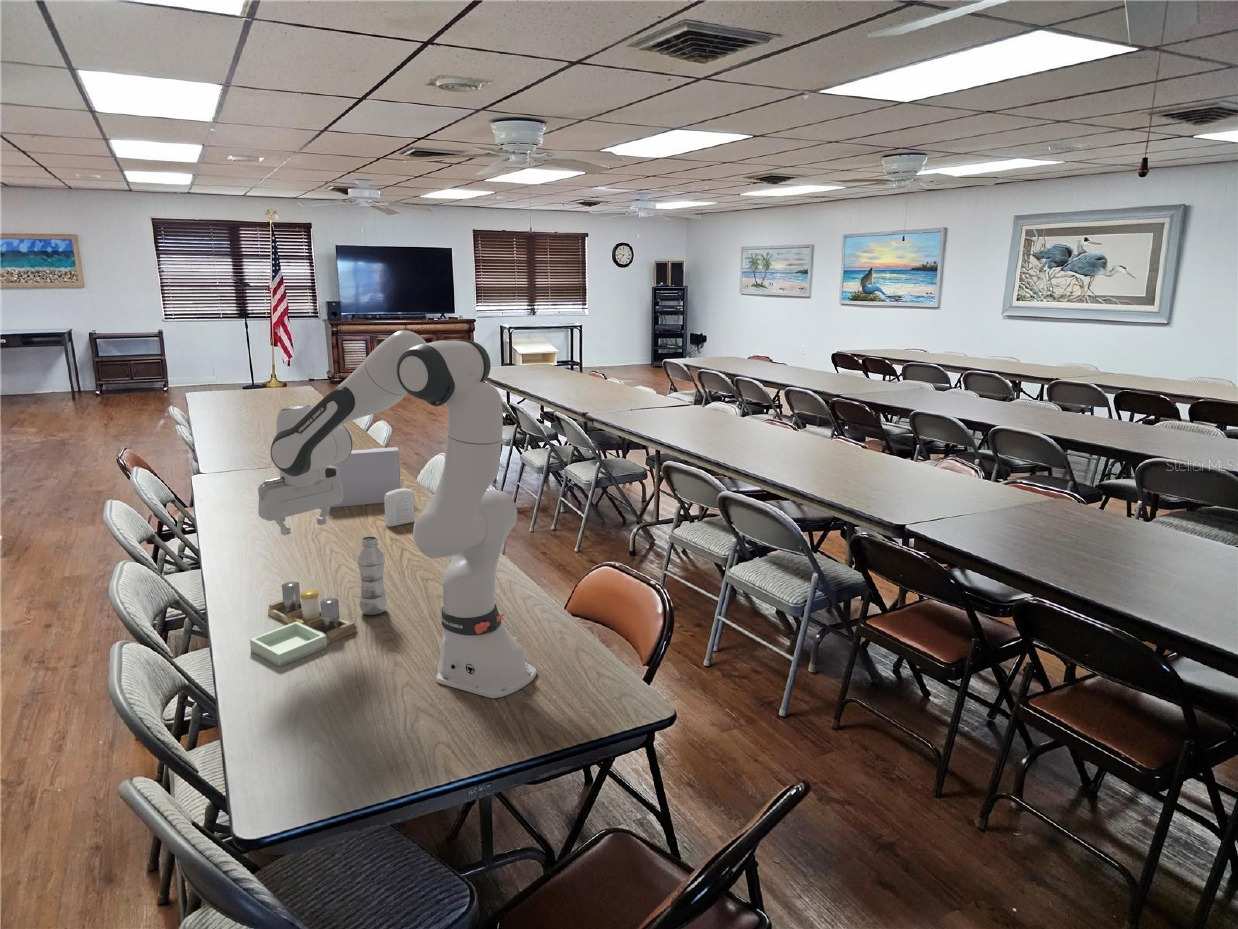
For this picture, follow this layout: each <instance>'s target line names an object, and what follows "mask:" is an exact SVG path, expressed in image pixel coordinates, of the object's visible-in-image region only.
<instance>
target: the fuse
mask: <svg viewBox="0 0 1238 929" xmlns="http://www.w3.org/2000/svg"><path fill="white" fill-rule="evenodd" d="M300 600H301V606H302V618H303V619H302V621H305V624H306V625H307V622H309V621H311V620H314V619H317V618H319V617H320V610H321V608H320V598H319V590H317V589H311V588H310V589H306V590H302V591H300Z"/></svg>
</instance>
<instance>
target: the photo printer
mask: <svg viewBox="0 0 1238 929" xmlns="http://www.w3.org/2000/svg"><path fill="white" fill-rule="evenodd" d="M383 504H384V523H385V526H386V527H389V528H392V527H395V526H396V527H397V526H400V525H406V524H411V523H415V520H416V517H415V494H414V491H413V489H409V488H406V487H405V488H401V489H396V490H392V491H390V492H388V493H386V494H385V496H384V503H383Z"/></svg>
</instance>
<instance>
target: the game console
mask: <svg viewBox="0 0 1238 929" xmlns="http://www.w3.org/2000/svg"><path fill="white" fill-rule="evenodd" d="M331 466H334V467H337V468H339V470H340V474H339V476H337V477H339V478H340V479H341V481H342V487H343V500H342V502H341V503H339V504H335V505H331V506H330V509H333V508H340V507H350V506H352V507H353V506H361V505H374V504H381V503H382V504H385V503H384V496H385V494H386V493H388V492H390V491H392V490H396V489H402V488H401V467H400V449H399V448H398V446H394V447H380V448H377V447H376V448H375V447H374V448H370V449H369V448H368V449H356V450H353V449H352V451H351V454H350V456H349V457H348V458H347V459H346V460H344V461H342V462H339V463H336V464H333V465H331Z"/></svg>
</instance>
